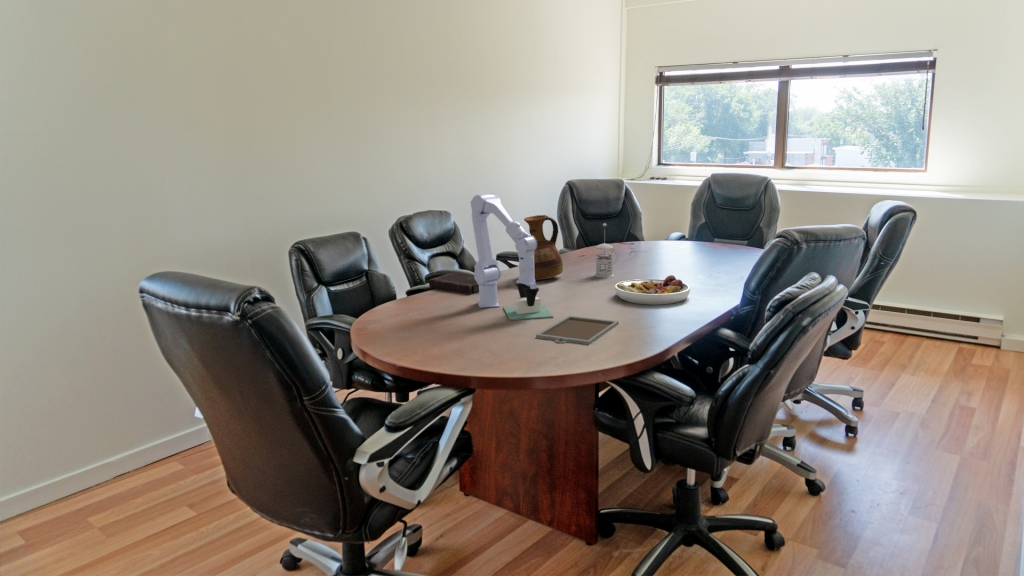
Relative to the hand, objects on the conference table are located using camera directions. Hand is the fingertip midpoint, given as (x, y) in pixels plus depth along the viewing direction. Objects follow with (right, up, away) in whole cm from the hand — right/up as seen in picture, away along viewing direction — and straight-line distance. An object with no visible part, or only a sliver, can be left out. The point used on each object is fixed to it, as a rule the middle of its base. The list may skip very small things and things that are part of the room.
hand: (527, 303), depth 260 cm
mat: (0, -4, +1) cm, 4 cm away
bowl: (+51, +2, +22) cm, 56 cm away
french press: (+39, +12, +68) cm, 79 cm away
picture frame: (+16, -10, -25) cm, 31 cm away
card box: (0, -3, +1) cm, 3 cm away
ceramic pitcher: (+8, +10, +64) cm, 66 cm away
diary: (-28, +5, +48) cm, 55 cm away
